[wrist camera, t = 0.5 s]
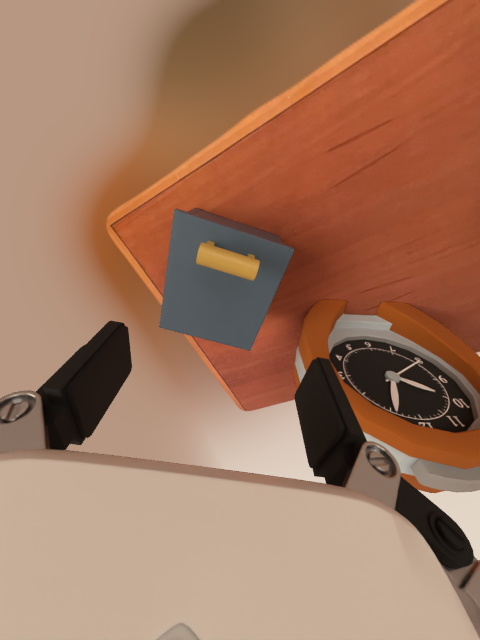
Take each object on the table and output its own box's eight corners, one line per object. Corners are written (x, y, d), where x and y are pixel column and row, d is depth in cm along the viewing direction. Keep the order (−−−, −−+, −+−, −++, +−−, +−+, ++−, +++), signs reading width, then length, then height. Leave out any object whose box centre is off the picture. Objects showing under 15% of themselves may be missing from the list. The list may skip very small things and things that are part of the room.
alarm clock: (435, 304, 34) (673, 462, 15) (407, 351, 39) (556, 512, 20) (294, 298, 34) (351, 446, 15) (285, 346, 40) (319, 500, 21)
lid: (176, 208, 20) (157, 215, 16) (293, 247, 21) (304, 264, 17) (161, 323, 27) (145, 350, 23) (250, 346, 29) (250, 375, 24)
